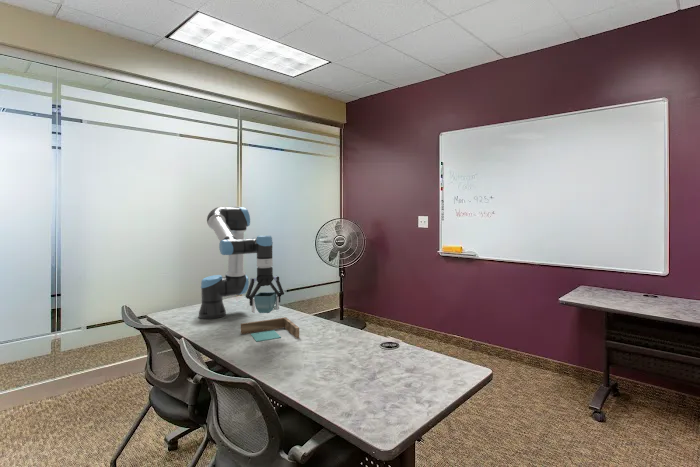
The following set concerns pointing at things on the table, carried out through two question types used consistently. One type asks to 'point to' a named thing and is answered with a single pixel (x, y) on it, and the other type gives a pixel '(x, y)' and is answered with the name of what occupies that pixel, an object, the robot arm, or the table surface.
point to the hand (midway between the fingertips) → (265, 310)
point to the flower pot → (265, 302)
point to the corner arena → (270, 326)
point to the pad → (265, 335)
